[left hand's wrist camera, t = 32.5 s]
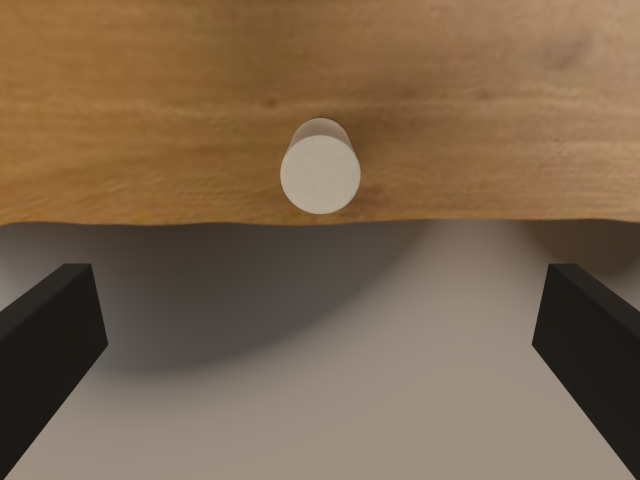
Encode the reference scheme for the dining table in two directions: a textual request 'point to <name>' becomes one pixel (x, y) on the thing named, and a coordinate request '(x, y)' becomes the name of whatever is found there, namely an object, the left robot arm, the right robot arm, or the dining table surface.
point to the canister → (320, 167)
